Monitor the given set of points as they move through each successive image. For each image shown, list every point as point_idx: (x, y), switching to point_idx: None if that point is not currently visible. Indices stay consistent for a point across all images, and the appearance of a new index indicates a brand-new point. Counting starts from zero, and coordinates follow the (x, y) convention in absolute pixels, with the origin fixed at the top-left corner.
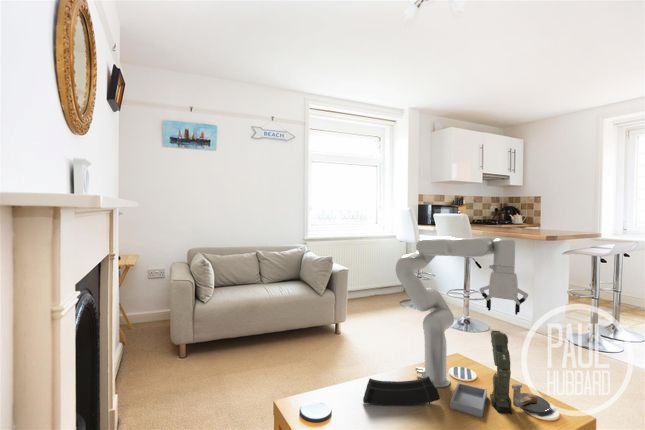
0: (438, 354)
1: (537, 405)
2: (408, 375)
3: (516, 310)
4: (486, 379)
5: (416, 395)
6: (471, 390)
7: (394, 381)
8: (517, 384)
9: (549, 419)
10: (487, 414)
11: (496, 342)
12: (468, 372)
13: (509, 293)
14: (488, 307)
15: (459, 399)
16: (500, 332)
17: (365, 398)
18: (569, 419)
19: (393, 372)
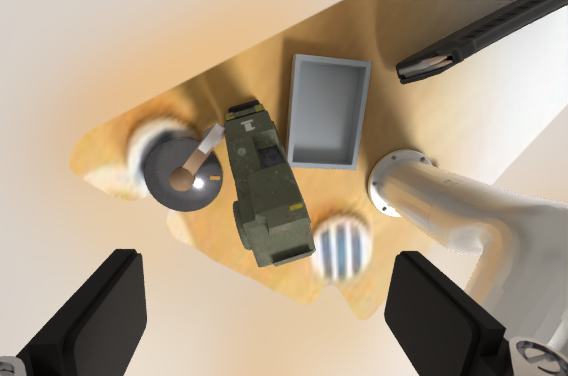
0: (446, 181)
1: (171, 161)
2: None
3: (101, 277)
4: None
5: (457, 34)
6: (321, 161)
7: (542, 13)
8: (210, 141)
9: (147, 124)
10: (281, 79)
11: (285, 172)
12: (327, 259)
13: None
14: (432, 268)
15: (345, 113)
16: (271, 225)
17: None
18: (104, 146)
19: (493, 176)
